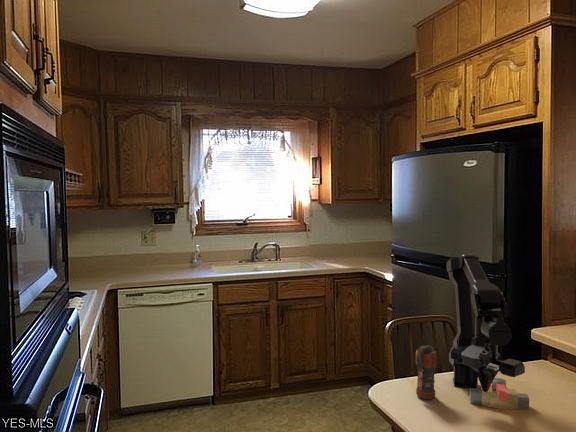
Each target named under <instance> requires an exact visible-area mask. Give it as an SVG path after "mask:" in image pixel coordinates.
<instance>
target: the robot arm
mask: <svg viewBox="0 0 576 432" xmlns="http://www.w3.org/2000/svg"><path fill="white" fill-rule="evenodd" d="M479 259H480V258H479V255H476V254H462V255H459V256H457V257H450V259H449V260H447V261H446V272H447V273H448V278H449V279H450V281H451V282H452V284H453V286H454V293H455V308H456V309H455V310H456V324H457V325H456V327H457V333H456V335H455V336H454V338H453V341H452V347H451V348H450V351H449V354H448V360H449V363H450V364H451V366H452V367H453V377H452V381H453V382H452V383H453V386H454V387H460V388H469V389H470V388H474V389H478V388H477V385H478V384H479V383H480V386H481V387H482V390H483V391H484V392H487V391H488V390H489V388H490V386H491V385H492V382H493V380H494V378H496V376H497V374H498V373H499V372H500V373H501V375H504V376H507V377H509V378H515V377H519V376H520V375H523V374H525V372H526V370H525V369H526V366H525V364H524V362H523V361H520V360H516V359H513V358H508V359H505V360H500V359H499V358H500V357H501V353H500V352H498V347H503V346H507V345H508V344H509V343H510V342H511V341H512V338H513V332H512V329H511V327H510V326H508V325H507V324H506V323H505V318H508V317H509V315H508V312H509V309H508V304H507V302H506V300H505V299H506V298H505V297H504V293H502V292H501V290H500V288H499V287H498V286H497V285H496V284H495V283H492V282H490V281H489V280H488V277H487V276H486V273H485V272H484V269H483V268H482V265H481V264H480V260H479ZM472 308H473V309H472ZM473 312H474V314H475V316H474V317H475V322H473V321H474V320H473V318H474V317H473ZM474 324H475V325H474ZM474 328H475V329H474ZM474 330H475V331H474ZM478 382H479V383H478Z"/></svg>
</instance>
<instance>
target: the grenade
mask: <svg viewBox="0 0 576 432" xmlns="http://www.w3.org/2000/svg"><path fill="white" fill-rule="evenodd" d="M437 363H438V353H437V351H436V350H435V349H434V347H433V346H431V345H421V346H419V347H418V348H417V349H416V351H415V365H416V370H417V378H416V379H417V387H416V388H415V389H416V390H415V394H416V395H417V397H418V398H419V399H421V400H426V401H428V400H429V401H430V400H433V399H434V398H435V396H436V390H435V369H436V366H438V365H437Z"/></svg>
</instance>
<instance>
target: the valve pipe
mask: <svg viewBox="0 0 576 432" xmlns="http://www.w3.org/2000/svg"><path fill="white" fill-rule="evenodd" d="M506 390H507V392H508V401H500V399H499V396H498V394H497V391H496V390H495V389H493V388H492V384H491V386H490V388H489V390H488V391H487V392H484V391H483V390H482V387H481V385H480V388H469V402H470V404H474V405H481V406H486V407H489V408H494V409H495V408H496V409H502V410H503V409H504V410H511V409H512V410H526V409H527V410H528V411H529V410H530V397H529V394H528V393H520V392H517V390H516V389H515V388H509V387H508V386H506ZM527 410H526V411H527Z"/></svg>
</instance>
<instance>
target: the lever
mask: <svg viewBox="0 0 576 432" xmlns="http://www.w3.org/2000/svg"><path fill="white" fill-rule="evenodd" d="M491 385H492V388H493V389H495V390H496V391H497V394H498V396H499V399H500V401H508V392H507V390H506V387H507V381H506V380H505V379H503V378H500V377H495V378H494V380H493V382H492V384H491Z"/></svg>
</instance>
